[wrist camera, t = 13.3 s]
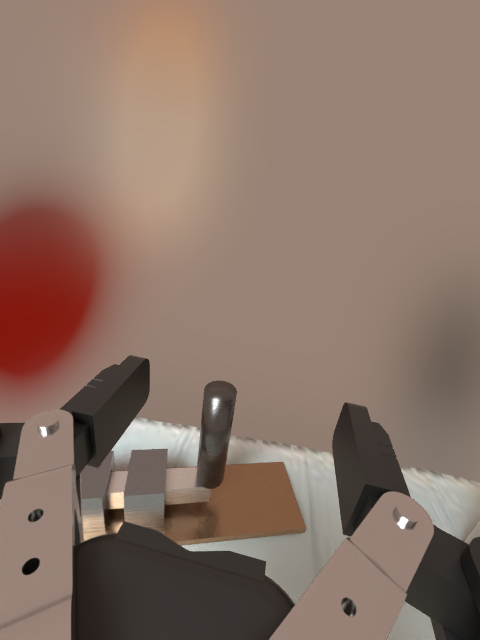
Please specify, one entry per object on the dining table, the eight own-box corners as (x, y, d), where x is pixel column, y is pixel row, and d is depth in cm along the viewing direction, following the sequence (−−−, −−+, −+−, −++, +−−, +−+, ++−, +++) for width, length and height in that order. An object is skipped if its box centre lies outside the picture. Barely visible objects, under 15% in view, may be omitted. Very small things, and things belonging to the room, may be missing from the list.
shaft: (220, 478, 38) (234, 380, 32) (223, 502, 35) (239, 401, 29) (70, 487, 34) (53, 380, 28) (60, 515, 31) (39, 403, 25)
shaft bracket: (281, 465, 43) (290, 433, 40) (304, 532, 35) (316, 497, 32) (72, 477, 37) (66, 441, 35) (41, 559, 30) (31, 520, 27)
